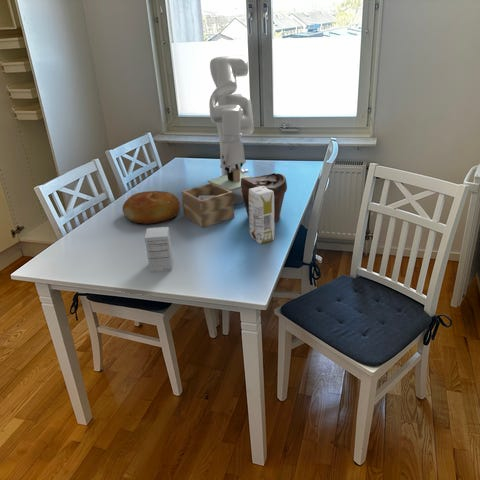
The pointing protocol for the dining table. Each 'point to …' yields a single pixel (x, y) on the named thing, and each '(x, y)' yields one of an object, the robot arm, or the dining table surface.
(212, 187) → the crate
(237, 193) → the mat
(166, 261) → the supplement box
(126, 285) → the dining table surface
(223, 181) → the lid
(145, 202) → the bread
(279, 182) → the brown plant pot
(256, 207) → the juice carton
